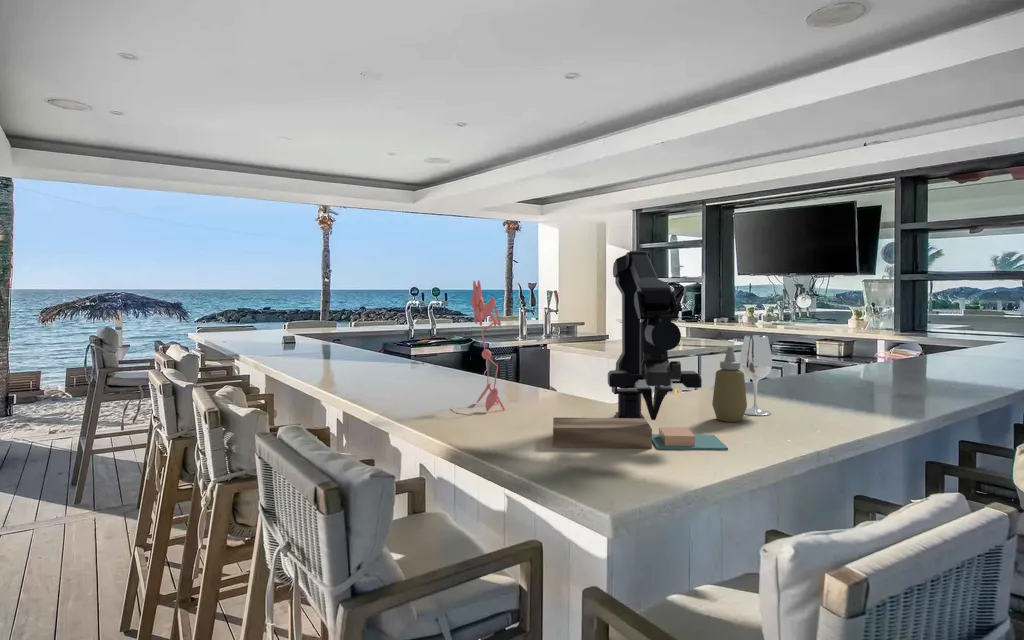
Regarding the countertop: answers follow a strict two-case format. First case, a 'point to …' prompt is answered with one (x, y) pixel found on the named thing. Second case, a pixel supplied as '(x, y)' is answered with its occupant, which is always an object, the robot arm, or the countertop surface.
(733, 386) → the squeeze bottle
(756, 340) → the wineglass
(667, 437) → the tile
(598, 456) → the countertop surface
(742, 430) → the countertop surface
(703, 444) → the mat
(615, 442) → the platform
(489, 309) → the figurine
